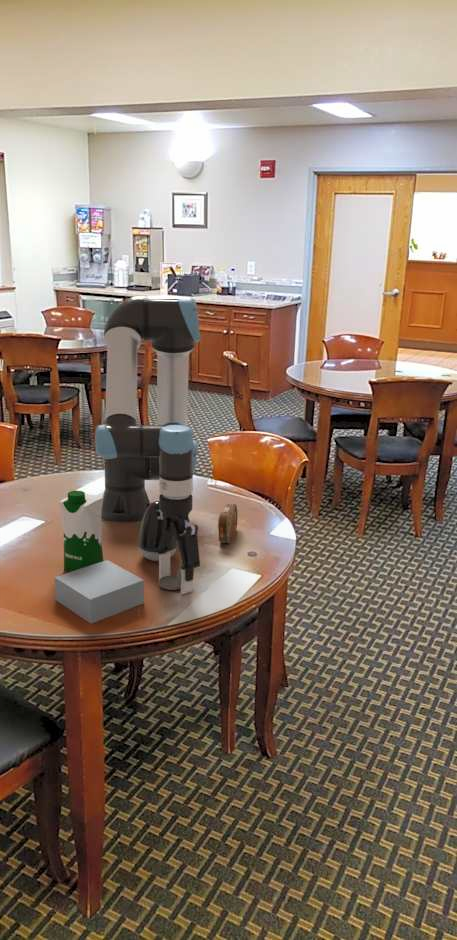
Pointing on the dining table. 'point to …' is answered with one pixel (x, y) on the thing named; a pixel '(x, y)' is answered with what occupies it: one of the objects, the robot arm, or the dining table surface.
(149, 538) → the black glossy egg shape
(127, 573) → the base block
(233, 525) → the tin
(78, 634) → the dining table surface
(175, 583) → the pocket watch
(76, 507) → the milk carton
